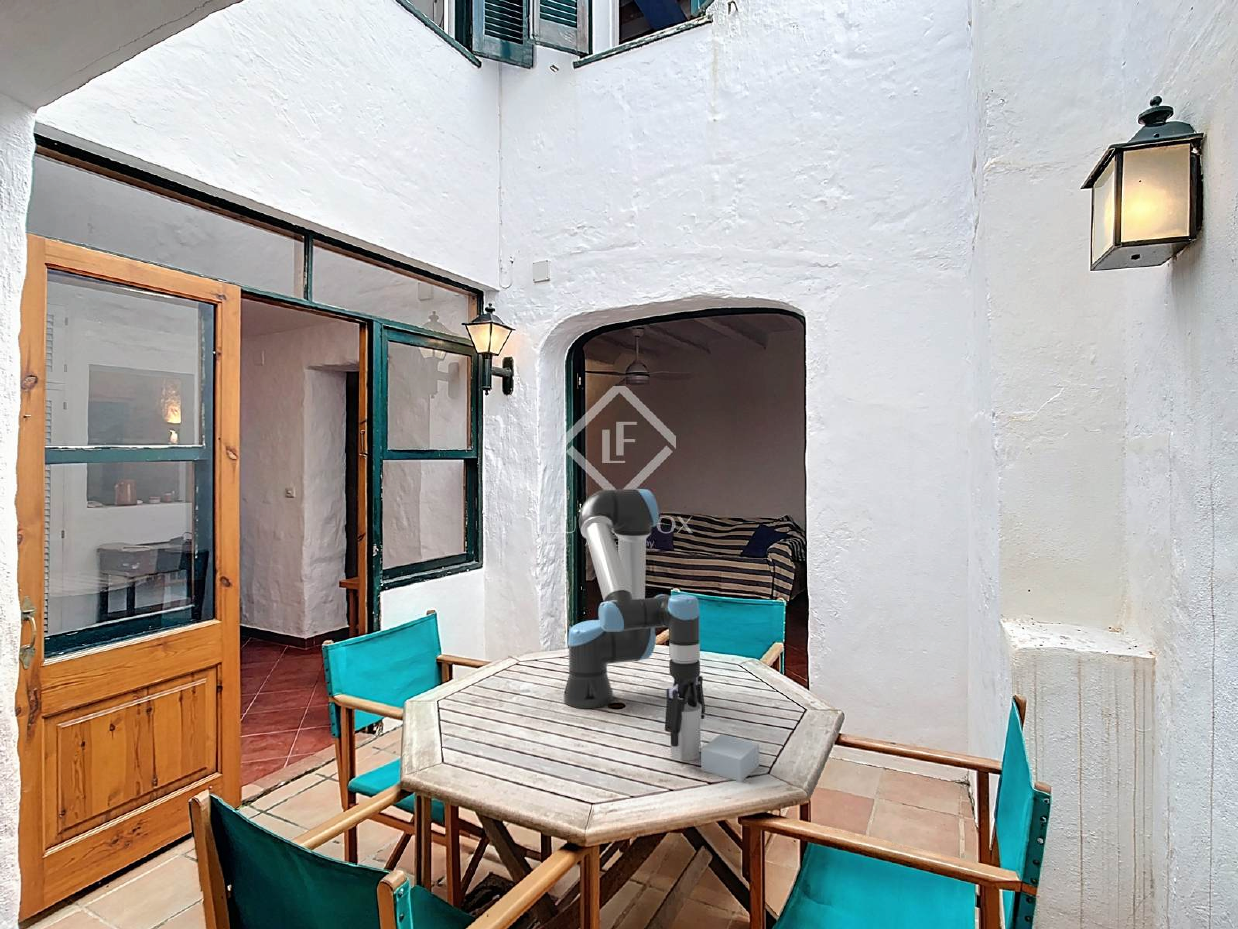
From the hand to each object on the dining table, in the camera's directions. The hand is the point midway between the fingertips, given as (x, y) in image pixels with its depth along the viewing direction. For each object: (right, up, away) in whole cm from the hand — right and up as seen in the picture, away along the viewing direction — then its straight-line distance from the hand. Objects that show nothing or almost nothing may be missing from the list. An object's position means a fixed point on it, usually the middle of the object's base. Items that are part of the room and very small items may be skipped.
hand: (686, 751), depth 157 cm
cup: (0, -1, 0) cm, 1 cm away
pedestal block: (+10, -1, -7) cm, 12 cm away
